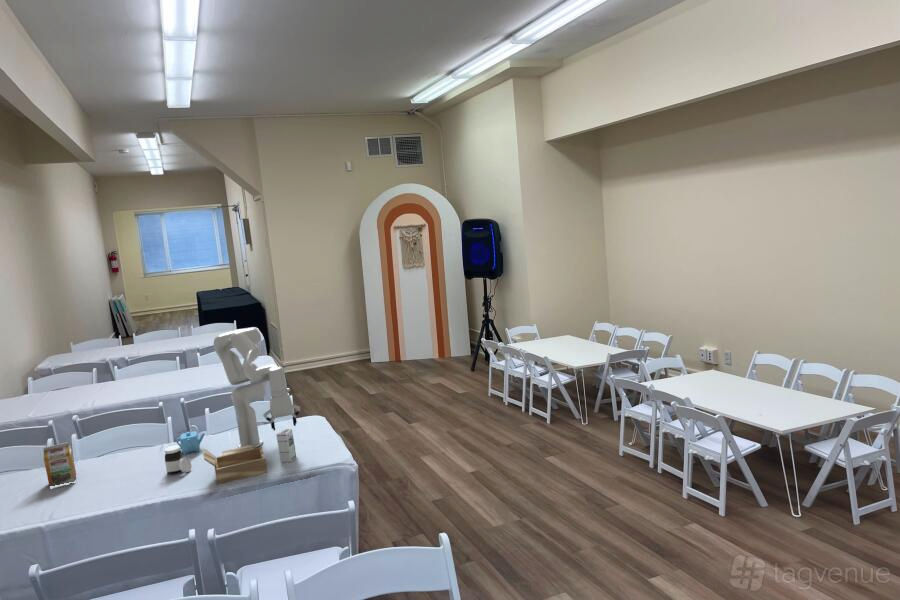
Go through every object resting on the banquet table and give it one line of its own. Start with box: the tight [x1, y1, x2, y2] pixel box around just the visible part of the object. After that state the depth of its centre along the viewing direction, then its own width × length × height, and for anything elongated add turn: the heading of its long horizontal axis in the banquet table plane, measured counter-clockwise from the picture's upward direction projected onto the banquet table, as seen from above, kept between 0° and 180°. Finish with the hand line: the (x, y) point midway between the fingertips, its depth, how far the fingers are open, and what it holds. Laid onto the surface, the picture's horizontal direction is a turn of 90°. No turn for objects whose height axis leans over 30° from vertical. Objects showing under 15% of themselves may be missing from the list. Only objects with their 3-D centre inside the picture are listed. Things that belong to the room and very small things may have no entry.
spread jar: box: [164, 444, 193, 475], centre depth 310 cm, size 12×11×12 cm
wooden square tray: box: [214, 445, 268, 485], centre depth 305 cm, size 22×22×7 cm
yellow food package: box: [42, 442, 77, 488], centre depth 309 cm, size 11×11×19 cm
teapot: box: [175, 430, 206, 455], centre depth 336 cm, size 18×14×10 cm
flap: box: [203, 448, 217, 468], centre depth 297 cm, size 13×7×1 cm
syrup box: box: [275, 428, 297, 463], centre depth 312 cm, size 6×6×14 cm
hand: (284, 427), depth 310 cm, fingers open, 9 cm apart
